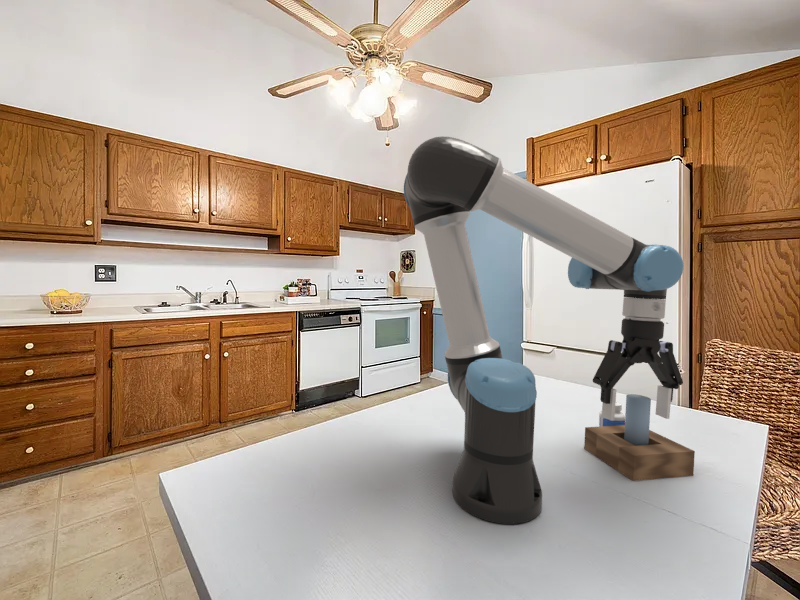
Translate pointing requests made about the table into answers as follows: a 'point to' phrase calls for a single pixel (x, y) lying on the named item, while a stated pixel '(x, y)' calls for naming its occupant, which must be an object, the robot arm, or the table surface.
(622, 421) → the pill bottle
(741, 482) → the table surface
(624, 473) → the socket block
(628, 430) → the peg
